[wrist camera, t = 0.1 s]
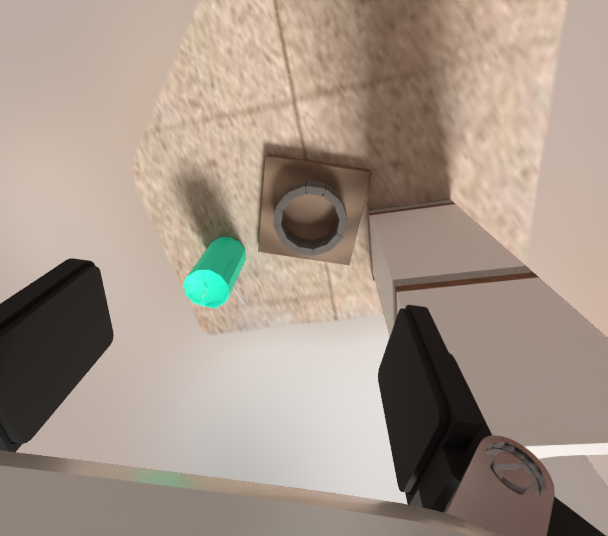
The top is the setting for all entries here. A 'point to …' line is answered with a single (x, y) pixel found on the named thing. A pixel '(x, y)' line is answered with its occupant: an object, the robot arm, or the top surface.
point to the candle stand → (311, 209)
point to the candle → (215, 273)
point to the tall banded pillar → (503, 340)
